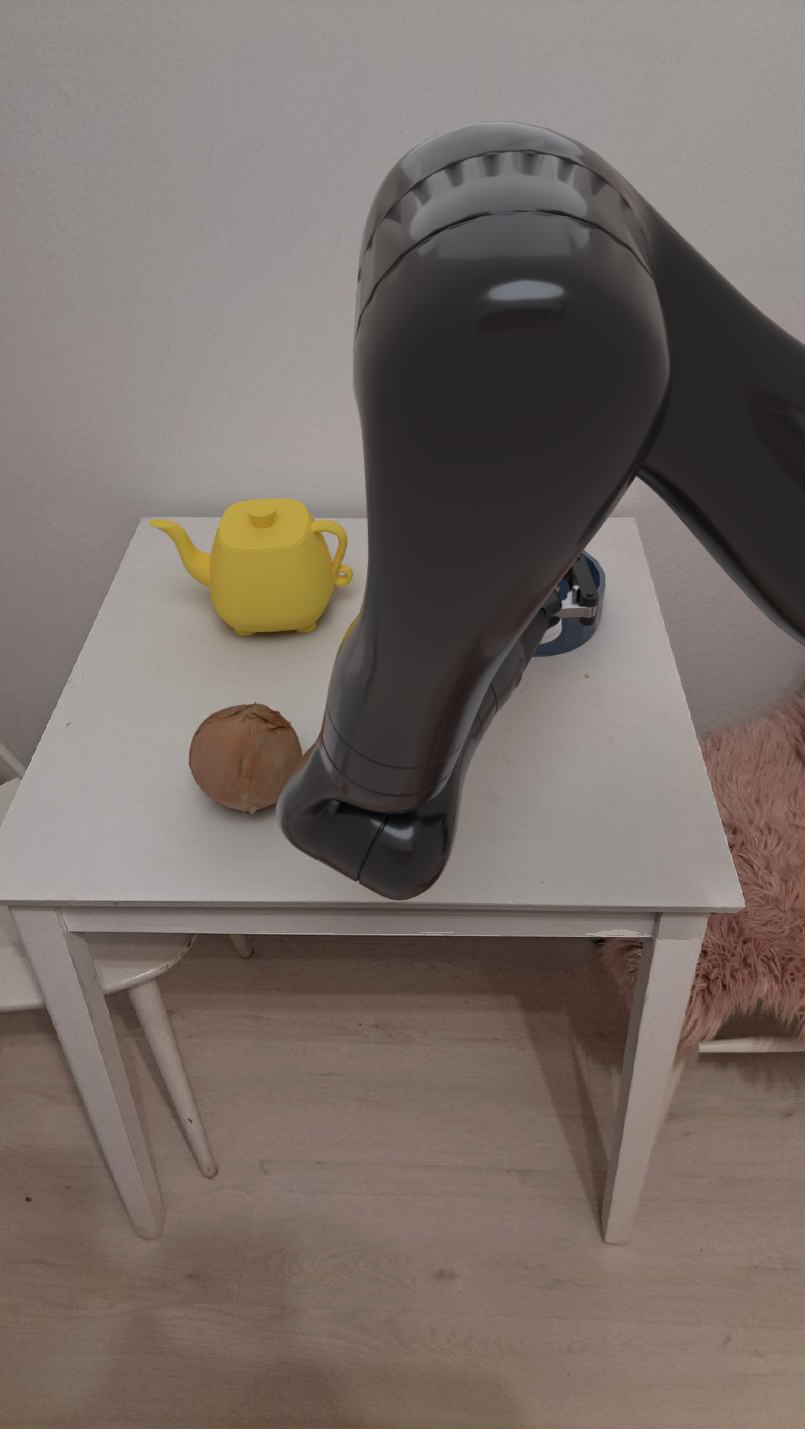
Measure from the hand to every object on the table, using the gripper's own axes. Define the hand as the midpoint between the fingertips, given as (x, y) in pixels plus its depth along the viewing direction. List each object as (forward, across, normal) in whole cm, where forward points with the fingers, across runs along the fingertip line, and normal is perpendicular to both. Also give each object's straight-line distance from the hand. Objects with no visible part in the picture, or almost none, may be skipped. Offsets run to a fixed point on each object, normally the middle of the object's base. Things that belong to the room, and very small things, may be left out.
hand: (551, 528), depth 76 cm
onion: (-20, +19, +20) cm, 34 cm away
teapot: (+3, +32, +20) cm, 38 cm away
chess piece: (-3, 0, +8) cm, 9 cm away
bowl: (+13, +5, +20) cm, 24 cm away
